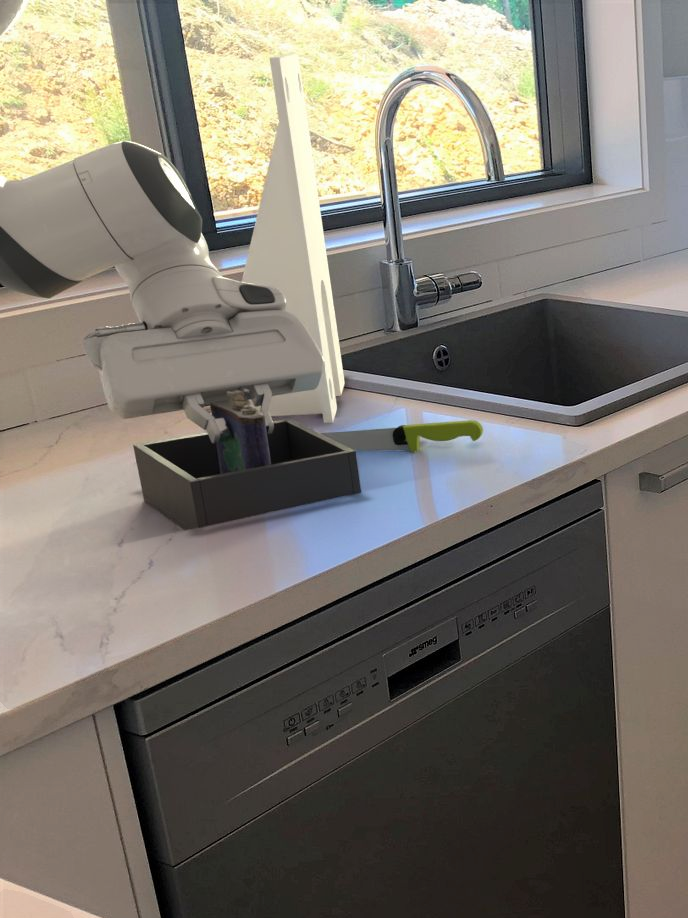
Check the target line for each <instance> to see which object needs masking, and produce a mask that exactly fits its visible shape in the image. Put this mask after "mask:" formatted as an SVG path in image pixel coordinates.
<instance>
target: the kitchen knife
mask: <svg viewBox="0 0 688 918" xmlns="http://www.w3.org/2000/svg"><path fill="white" fill-rule="evenodd" d="M319 433H320V434H322V435H324V436H326V437H328V438H330V439H332V440H334V441H336V442H338V443H340V444H342V445H344V446H346V447H348V448H350V449H352V450H354V451H383V450H410V451H409V452H410V453H416V452H415V451H418V450H419V449H420V450H421V448H420V445H421V443H420V441H421V438H423V439H426V440H429V441H434V442H448V441H452V440H455V439H458V438H460V437H470V439H471V440H472V442H476V441H477V440H479V439H480V438H481V437H482V435H483V433H484V428H483V425H482V424H481V422H479V421H477V420H475V419H468V420H454V421H442V422H441V421H439V422H428V423H427V422H426V423H415V424H414V423H413V424H400V425H398V426H397V427H386V428H372V429H360V430H358V429H357V430H346V431H345V430H344V431H332V432H319ZM420 450H419V451H420ZM419 451H418V452H419Z"/></svg>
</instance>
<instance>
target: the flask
mask: <svg viewBox="0 0 688 918" xmlns="http://www.w3.org/2000/svg"><path fill="white" fill-rule="evenodd" d="M244 392H247V393H249V390H247V389H244V390H243V392H242V391H239V390H236V391H233V392H230V391H227V395H228V396H229V397H231V399H230V401H218V402H215V403H211V404H210V406H209V407H210V414H211V413H212V416H213V417H214V418H215V419H217V418H224V419H225V421H226V426H227V427H229V430H230V437H229V441H225V442H219V443H216V444H217V451H218V458H219V466H220V474H223V473H229V472H234V471H240V470H245V469H250V468H256V467H261V466H266V465H271V460H270V452H269V446H268V438H267V432H266V422H265V416H264V415H263V414H262V413H261V412H260V411H259V410H257V409H255V408H253V407H251V406H249V405H251V403H250V401H249V400H247V399H246V398H245V397H244Z"/></svg>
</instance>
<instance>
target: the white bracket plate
mask: <svg viewBox="0 0 688 918" xmlns="http://www.w3.org/2000/svg"><path fill="white" fill-rule="evenodd" d="M269 63H270V71H271V76H272V84H273V90H274V97H275V98H274V99H275V105H276V111H277V117H278V124H277V129H276V133H275V139H274V142H273V146H272V150H271V154H270V159H269V163H268V168H267V171H266V176H265V180H264V184H263V185H264V186H263V189H262V193H261V197H260V201H259V205H258V206H259V207H258V210H257V214H256V218H255V222H254V226H253V230H252V231H253V232H252V235H251V239H250V244H249V248H248V253H247V256H246V261H245V266H244V269H243V274H242V278H241V282H244V283H250V284H256V285H263V286H270V287H275V288H278V289H280V290H281V291H282V292H283V294H284V296H285V299H286V307H285V311H288V312H291V313H292V314H294V315H295V316H297V317H298V318H299V319H300V320H301V321H302V323H303V324H304V325H305V327H306V328H307V330H308V331H309V333H310V334H311V336H312V338H313V339H314V341H315V343H316V345H317V347H318V348H319V350H320V352H321V354H322V356H323V359H324V362H325V370H324V374H323V377H322V379H321V381H320V383H319V385H318V387H317V388H316V389H314V390H308V391H301V392H295V393H289V394H282V395H276V396H272V397H271V402H270V407H269V411H268V412H269V414H270V416H271V417H283V416H284V417H285V416H286V417H287V416H300V415H301V416H302V415H303V416H304V415H305V416H306V415H319V414H322V419H323V424H333V423H334V421H335V418H336V414H337V410H338V405H337V399H336V398H337V397H340V396H342V394H343V391H344V388H345V384H346V383H345V376H344V375H345V374H344V369H343V362H342V361H343V360H342V353H341V348H340V339H339V333H338V332H339V331H338V327H337V325H338V324H337V319H336V313H335V306H334V297H333V291H332V283H331V276H330V270H329V262H328V255H327V254H328V253H327V247H326V241H325V233H324V227H323V219H322V212H321V206H320V198H319V193H318V192H319V191H318V184H317V179H316V178H317V177H316V170H315V163H314V157H313V156H314V155H313V147H312V141H311V135H310V128H309V127H310V126H309V121H308V113H307V106H306V100H305V91H304V85H303V77H302V71H301V65H300V64H301V63H300V58H299V53H297V52H296V53H295V52H294V53H293V52H292V53H291V52H290V53H284V54H280V55H275V56H270V57H269ZM249 401H250V403H251V405H249V406H251V407H253V408H255V409H257V410H259V411H260V408H261V406H257V407H255V406H254V404H253V402H252V400H251V399H250V400H249ZM210 414H211V415H212V413H211V412H210Z"/></svg>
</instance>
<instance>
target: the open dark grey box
mask: <svg viewBox="0 0 688 918" xmlns="http://www.w3.org/2000/svg"><path fill="white" fill-rule="evenodd" d="M272 421H273V423H274V429H273V432H272V434H267V438H268V446H269V452H270V460H271V465H266V466H261V467H256V468H250V469H245V470H240V471H234V472H229V473H223V474H220V466H219V458H218V451H217V444H216V443H212V442H211V440H210V438H209V435H208V433H207V432H201V433H196V434H190V435H184V436H178V437H177V436H176V437H172V438H167V439H160V440H154V441H148V442H142V443H137V444H132V447H133V452H134V457H135V463H136V467H137V472H138V478H139V482H140V486H141V492H142V497H143V501H144V502H145V503H146V504H147V505H149V506H150V507H152V508H154V510H155V511H157V512H159V513H160V514H161V515H163V516H164V517H166V518H167V519H168V520H170V521H171V522H172V523H173V524H174V523H175V525H177V526H178V527H179V528H181V529H182V530H184V531H189V530H193V529H199V528H204V527H210V526H215V525H219V524H224V523H229V522H232V521H236V520H241V519H242V520H243V519H246V518H252V517H255V516H260V515H265V514H269V513H275V512H278V511H282V510H287V509H292V508H296V507H301V506H305V505H311V504H314V503H319V502H324V501H329V500H334V499H337V498H343V497H347V496H351V495H356V494H360V493H362V488H361V479H360V471H359V463H358V456H357V450H352V449H350V448H348V447H346V446H344V445H342V444H340V443H338V442H336V441H334V440H332V439H330V438H328V437H326V436H324V435H322V434H320V433H321V432H318V431H316V430H315V429H312V428H310V427H308V426H306V425H304V424H302V423H301V422H298V421H296V420H294V419H292V418H286V419H279V420H275V421H274V420H272Z"/></svg>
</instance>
